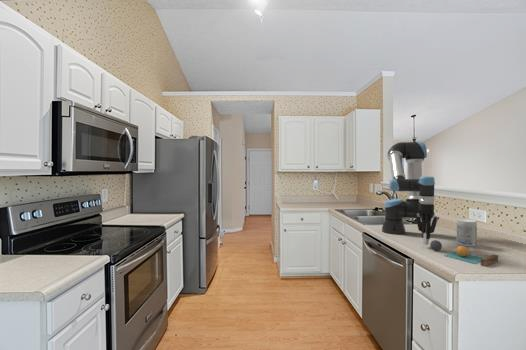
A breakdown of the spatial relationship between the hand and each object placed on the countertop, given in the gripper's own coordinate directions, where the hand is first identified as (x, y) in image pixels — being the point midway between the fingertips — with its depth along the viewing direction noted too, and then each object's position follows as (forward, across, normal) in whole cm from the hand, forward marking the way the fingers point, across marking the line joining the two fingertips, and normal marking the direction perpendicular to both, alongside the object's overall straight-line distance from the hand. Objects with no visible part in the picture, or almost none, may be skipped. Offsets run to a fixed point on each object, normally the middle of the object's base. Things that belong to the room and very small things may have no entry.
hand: (425, 244), depth 156 cm
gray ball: (-1, +6, 0) cm, 6 cm away
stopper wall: (+2, +30, 0) cm, 30 cm away
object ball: (-1, +18, 0) cm, 19 cm away
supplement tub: (+2, +9, +26) cm, 28 cm away
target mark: (+2, +20, 0) cm, 20 cm away
